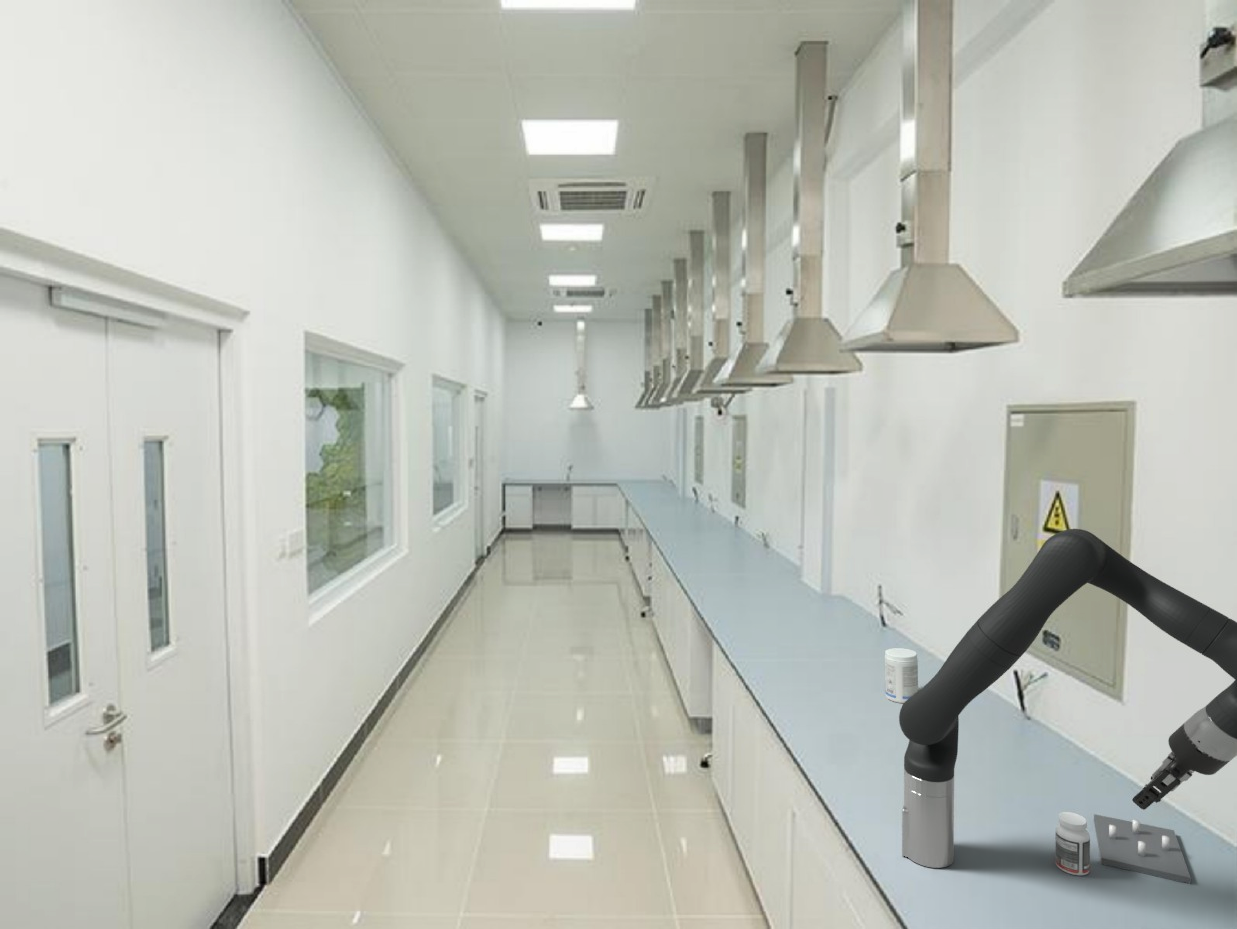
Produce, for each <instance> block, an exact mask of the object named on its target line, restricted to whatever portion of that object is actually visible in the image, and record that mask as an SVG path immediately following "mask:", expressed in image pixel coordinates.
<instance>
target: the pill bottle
mask: <svg viewBox="0 0 1237 929" xmlns="http://www.w3.org/2000/svg"><path fill="white" fill-rule="evenodd" d="M1057 821H1058V824H1057V825H1056V827H1055V854H1054V855H1055V858H1054V859H1055V865H1056V866H1057V867H1058V868H1059V869H1060V870H1062V871H1063V872H1064V873H1067V874H1069V875H1072V876H1078V877H1079V876H1081V877H1082V876H1086V875H1088V874H1089V872H1090V870H1091V858H1090V857H1091V834H1090V833H1089V832H1088V830H1087V828H1088V821H1087V819H1086V818H1085V817H1084V816H1082V815H1080V814H1078V813H1075V812H1070V811H1063V812H1059V814H1058V819H1057Z"/></svg>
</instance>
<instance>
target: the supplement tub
mask: <svg viewBox="0 0 1237 929" xmlns="http://www.w3.org/2000/svg"><path fill="white" fill-rule="evenodd" d="M884 653H885V654H884V678H885V679H884V684H885V697H886V698H887V699H888V700H889V701H891V702H894V703H897V704H904V703H905V701H907V700H908V699H909V698H910V697H911V696H912V695H914V694H915V693H916V692H917V691H919V675H918V674H919V669H918V668H919V665H918V662H919V660H918V653H917V652H916V651H914V650H912V649H908V648H902V647H901V648H899V647H895V648H888V649H886V650H885V652H884Z"/></svg>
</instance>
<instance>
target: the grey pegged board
mask: <svg viewBox="0 0 1237 929" xmlns="http://www.w3.org/2000/svg"><path fill="white" fill-rule="evenodd" d="M1140 822H1141V821H1140V820H1138V819H1132V821H1130V820H1124V819H1122V818H1121V819H1119V818H1116V817H1110V816H1107V815H1101V814H1100V815H1099V814H1095V813H1094V814H1093V823H1094V828H1095V834H1096V835H1095V836H1096V841H1097V848H1098V854H1099V860H1100V864H1101V865H1106V866H1110V867H1113V868H1119V869H1122V870H1123V869H1124V870H1128V871H1131V872H1135V873H1140V874H1143V875H1149V876H1153V877H1154V876H1155V877H1159V878H1162V877H1163V879H1167V880H1171V881H1175V880H1176V881H1175V882H1179V881H1180V882H1179V883H1184V882H1186V883H1185V884H1188V883H1191V881H1192V880H1191V879H1192V878H1191V875H1190V872H1189V868H1188V867H1187V864H1186V861H1185V858H1184V855H1183V853H1182V849H1181V846H1180V844H1179V840H1178V838H1177V834H1176V833H1175V830H1174V829H1170V828H1164V827H1159V826H1155V825H1150V824H1146V823H1145V824H1144V823H1140Z"/></svg>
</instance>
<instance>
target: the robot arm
mask: <svg viewBox="0 0 1237 929" xmlns="http://www.w3.org/2000/svg"><path fill="white" fill-rule="evenodd" d="M1086 584H1090V585H1092V586H1094V587H1096V588H1099V589H1101V590H1104V591H1105V592H1108V593H1109V594H1111V595H1113V596H1115V597H1117V598H1118V599H1119V600H1121V601H1123V602H1124V603H1126V604H1127V605H1129V606H1130V607H1132V609H1135V610H1136V611H1137V612H1138V613H1140V615H1142V616H1143V617H1145V618H1146V619H1147V620H1148V621H1149V622H1151V624H1153V625H1154V626H1156V627H1157V628H1158V629H1159V630H1161V631H1162V632H1164V633H1165V634H1167V635H1169V636H1170V637H1172V639H1173V638H1174V639H1175V640H1176V641H1179V643H1182V644H1184V645H1185V646H1187V647H1189V648H1190V649H1192V650H1194V651H1195V652H1197V653H1199V654H1200V655H1202V656H1204V657H1205V658H1208V659H1209V660H1211V661H1213V662H1214V663H1215V664H1216V665H1218V666H1219V667H1220V668H1221V669H1222V670H1223V671H1224V672H1225V673H1226V674H1228V675H1229V676H1230V677H1231V678H1232V679H1233V680H1234V681H1233V682H1232V683H1231V684H1230V685H1228V686H1227V687H1226V688H1225V689H1224V690H1222V691H1221V692H1220V693H1219V694H1217V696H1215V697H1214V698H1213V699H1211V701H1210V702H1209V703H1207V704H1206V705H1205V706H1204V707H1202V708H1200V709H1199V710H1197V711H1195V713H1194V714H1192V715H1191V717H1189V718H1188V719H1187V720H1186V721H1184V723H1182V724H1181V725H1180V726H1179V727H1178V728H1177V729H1176V730H1175V731H1174V732H1172V733H1171V735H1169V737H1168V741H1167V742H1168V746H1169V749H1170V750H1171V751H1170V752H1169V754H1167V756H1166V757H1165V759H1164V760H1162V761H1161V763H1162V764H1161V765H1160V766H1159V767H1158V768H1157V769H1156V770H1155V771H1154V772H1153V773H1152V775H1151V776H1150V781H1148V783H1145V785H1144V787H1143V788H1142V789H1141V790H1140V791H1139V792H1138V793H1137V794H1136V795H1134V796H1133V798H1132V802H1133V803H1134V804H1135V805H1136V806H1137V807H1139V809H1141V810H1144V811H1145V810H1146V809H1148V808H1149V807H1150V806H1151V805H1152V804H1154V802H1155V803H1156V804H1157V803H1160V802H1161V800H1162V799H1163V798H1164V797H1165V796H1166V795H1168V794H1169V793H1170V792H1174V791H1175V790H1176V789H1177V788H1178V787H1179V786H1180V785H1181V784H1182V783H1183V782H1186V781H1188V780H1189V779H1190V778H1191V777H1192V776H1193V775H1194V774H1193V773H1194V772H1196V773H1198V774H1200V775H1205V776H1211V775H1215V774H1216V773H1218V772H1219V771H1220V770H1221V769H1223V768H1224V767H1225V766H1226V765H1227V764H1229V763H1230V762H1231V761H1232V760H1233V759H1234V758H1236V757H1237V621H1236V620H1234V619H1232V618H1229V617H1228V616H1227V615H1225V614H1223V613H1221V612H1220V611H1217V610H1216V609H1214V608H1212V607H1210V606H1208V605H1206V604H1205V603H1203V602H1201V601H1199V600H1197V599H1195V598H1194V597H1191V596H1189V595H1188V594H1186V593H1185V592H1182V591H1180V590H1179V589H1176V588H1175V587H1173V586H1171V585H1169V584H1167V583H1166V582H1164V581H1162V580H1160V579H1159V578H1156V576H1154V575H1152V574H1151V573H1149V572H1147V571H1145V570H1143V568H1141V567H1139V566H1138V565H1136V564H1135V563H1133V562H1131V561H1130V560H1129V559H1127V558H1126V557H1124V556H1123V555H1122V554H1120V553H1119V552H1118V551H1116V550H1115V549H1114V548H1113V547H1111V546H1110V545H1108V544H1107V543H1105V542H1104V541H1103V540H1102V539H1100V538H1099V537H1098V536H1096V535H1095V534H1094V533H1092V532H1091V531H1088V530H1085V529H1081V528H1068V529H1064V530H1061V531H1059V532H1057V533H1054V534H1053V535H1051V536H1050V537H1048V538H1047V539H1046V540H1045V541H1044V543H1043V544H1042V545H1041V547H1040V549H1039V550H1038V552H1037V553H1036V555H1035V556H1034V558H1033V559H1032V561H1031V563H1030V564H1029V565H1028V567H1027V568H1026V569H1025V571H1024V572H1023V574H1021V576H1020V578H1019V579H1018V580H1017V581H1016V582H1015V583H1014V585H1013V586H1012V587H1011V588H1010V589H1009V590H1008V591H1007V592H1005V593H1004V594H1003V595H1002V596H1001V597H999V598H998V599H997V600H996V601H995V602H994V603H993V604H992V605H991V606H990V607H989V608H988V609H987V610H986V611H985V612H984V613H983V614H982V615H981V616H980V617H979V618H978V619H977V620H976V621H975V622H974V624H973V625H971V627H970V628H969V629H968V630H967V632H966V633H965V634H964V635H963V637H962V638H961V639H960V640H959V642H958V643H957V644H956V646H955V647H954V649H953V650H952V651H951V652H950V654H949V655H948V657H947V658H946V659H945V662H944V663H943V664H942V666H941V667H940V669H939V670H938V671H937V673H936V674H935V675H933V677H932V678H931V679H930V680H929V681H928V682H927V683H926V684H925V685H924V686H923V687H922V688H921V689H918V691H917V692H916V693H915V694H914V695H912V696H911V697H910V698H909V699H908V700H907V701H905V703H902V705H901V707H900V711H899V714H898V715H899V716H898V718H899V719H898V721H899V726H900V729H901V731H902V733H903V735H904V736H905V737H906V738H907V740H908V744H907V747H906V751H905V753H904V758H903V759H904V760H903V767H904V768H903V806H902V810H901V856H902V857H904V856H905V858H907V857H908V859H909V860H911V861H912V862H914V863H916V864H917V865H921V866H923V867H927V868H934V869H939V868H946V867H949V866H951V865H952V864H953V863H954V857H955V856H954V853H955V848H954V847H955V845H954V844H955V842H954V841H955V838H954V837H955V834H954V833H955V823H954V822H955V766H956V763H957V759H958V754H959V753H958V752H959V751H958V750H959V726H960V724H959V715H960V714H961V713H962V712H963V711H964V709H965V708H966V707H967V706H968V705H969V704H970V703H971V702H972V701H974V699H976V697H978V696H979V695H980V694H982V693H983V692H984V691H985V690H987V689H988V688H990V686H992V685H993V684H994V683H995V682H997V680H999V679H1000V678H1001V677H1002V676H1003V675H1005V673H1007V672H1008V671H1009V669H1011V667H1013V666H1014V664H1016V662H1018V661H1019V659H1020V658H1021V657H1022V656H1023V655H1024V654H1025V653H1026V652H1027V650H1028V649H1029V648H1030V646H1032V644H1033V642H1035V640H1036V639H1037V637H1038V635H1039V634H1040V632H1041V631H1042V629H1043V628H1044V626H1045V624H1046V623H1047V621H1048V619H1049V618H1050V616H1051V615H1052V614H1053V613H1054V612H1055V611H1056V610H1057V609H1059V607H1060V606H1061V605H1062V604H1063V603H1064V602H1066V600H1068V599H1069V598H1070V597H1071V596H1072V595H1074V594H1075V593H1076V592H1077V591H1078V590H1079V589H1081V588H1082V587H1084V586H1085V585H1086Z"/></svg>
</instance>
